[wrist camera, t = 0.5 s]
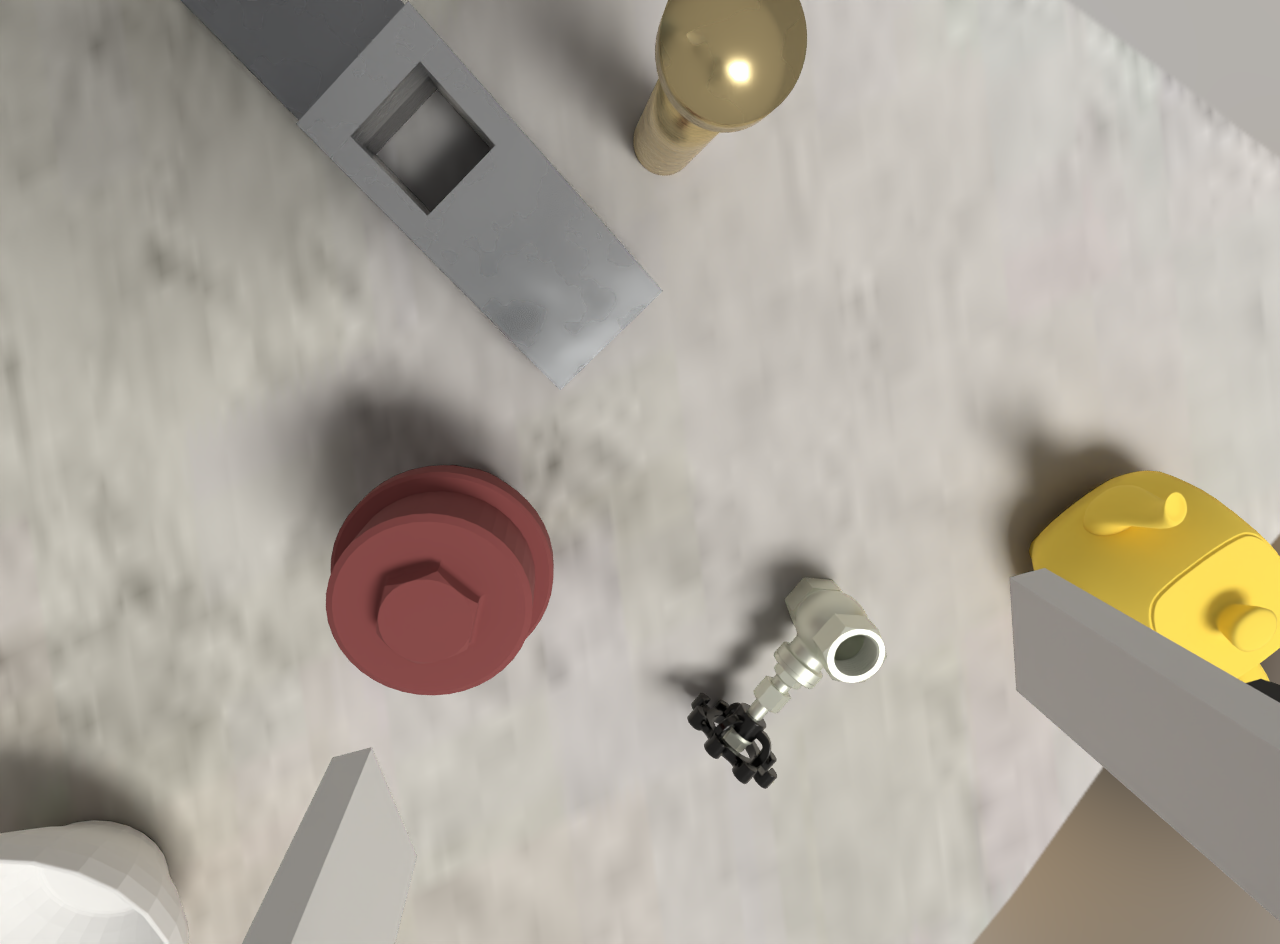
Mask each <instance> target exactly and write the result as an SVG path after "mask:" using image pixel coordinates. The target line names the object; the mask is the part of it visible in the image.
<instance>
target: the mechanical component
mask: <svg viewBox="0 0 1280 944" xmlns="http://www.w3.org/2000/svg"><path fill="white" fill-rule="evenodd" d="M553 566H554V564H553V551H552V547H551V542H550V538H549V535H548V533H547V530H546V528H545V525H544V523H543V522H542V520H541V518H540V517H539V515H538V513H537V512H536V510H535V509H534V508H533V507H532V506H531V504H530V503H529V502H528V501H527V500H526V499H525V498H524V497H523V496H522V495H521V494H520V493H519V492H518V491H517V490H515V489H514V488H512V487H511V486H509V485H508V484H507V483H505V482H503V481H502V480H501V479H499V478H498V477H496V476H494V475H492V474H490V473H488V472H485V471H482V470H478V469H473V468H466V467H461V466H457V465H439V466H427V467H422V468H417V469H412V470H409V471H406V472H403V473H401V474H398V475H396V476H394V477H392V478H390V479H388V480H386V481H384V482H383V483H381V484H380V485H379V486H377V487H376V488H375V489H373V490H372V491H371V492H370V493H369V494H368V495H367V496H366V497H365V498H364V499H363V500H362V501H361V502H360V503H359V504H358V505H357V506H356V507H355V508H354V509H353V511H352V512H351V513H350V514H349V515H348V517H347V518H346V520H345V522H344V523H343V525H342V527H341V528H340V530H339V533H338V535H337V538H336V540H335V543H334V547H333V552H332V556H331V576H330V578H329V582H328V587H327V592H326V611H327V617H328V623H329V626H330V629H331V631H332V634H333V637H334V639H335V640H336V642H337V644H338V646H339V647H340V649H341V650H342V652H343V653H344V654H345V656H346V657H347V658H348V659H349V661H350V662H351V663H353V664H354V665H355V666H356V667H357V668H358V669H359V670H360V671H361V672H363V673H364V674H366V675H367V676H369V677H370V678H372V679H373V680H375V681H377V682H379V683H381V684H383V685H385V686H387V687H390V688H393V689H396V690H399V691H402V692H407V693H413V694H418V695H443V694H451V693H456V692H460V691H465V690H467V689H470V688H473V687H475V686H478V685H480V684H482V683H484V682H486V681H487V680H489V679H491V678H492V677H494V676H495V675H497V674H498V673H499V672H501V671H502V670H503V669H504V668H505V667H506V666H507V665H508V664H509V663H510V662H511V661H512V660H513V659H514V657H515V656H516V655H517V653H518V652H519V650H520V649H521V647H522V645H523V643H524V641H525V639H526V638H527V637H528V636H529V635H530V634H531V633H532V632H533V630H534V629H535V627H536V626H537V624H538V623H539V622H540V620H541V618H542V616H543V614H544V612H545V610H546V608H547V605H548V602H549V599H550V596H551V591H552V584H553Z"/></svg>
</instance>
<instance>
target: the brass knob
mask: <svg viewBox="0 0 1280 944" xmlns="http://www.w3.org/2000/svg"><path fill="white" fill-rule="evenodd" d="M806 48H807V29H806V21H805V16H804V12H803V9H802V6H801V3H800V1H799V0H668V2H667V5H666V8H665V10H664V13H663V16H662V18H661V21H660V24H659V27H658V32H657V36H656V45H655V60H656V67H657V72H658V76H659V79H658V81H657V83H656V85H655V87H654V89H653V92H652V94H651V96H650V98H649V100H648V102H647V105H646V107H645V109H644V111H643V113H642V115H641V117H640V120H639V122H638V124H637V126H636V129H635V132H634V139H633V143H634V150H635V153H636V156H637V158H638V160H639V161H640V163H641V164H642V165H643V166H644V167H645V168H646V169H647V170H648V171H650V172H652V173H654V174H657V175H672V174H675V173H677V172H679V171H680V170H682V169H683V168H684V167H685V166H686V165H687V164H688V163H689V162H690V161H691V160H692V159H693V158H694V157H695V156H696V155H697V154H698V153H699V152H700V151H701V150H702V149H703V148H704V147H705V146H706V145H707V144H708V143H709V142H710V141H711V140H712V139H713V138H714V137H715V136H716V135H717V134H718V133H719V132H720V133H722V132H735V131H740V130H743V129H746V128H749V127H751V126H753V125H755V124H756V123H758V122H759V121H761V120H762V119H764V118H765V117H766V116H767V115H768V114H769V113H771V112H772V111H773V110H774V109H775V108H776V107H778V106H779V105H780V104H781V103H782V102H783V101H784V100H785V99H786V97H787V96H788V95H789V93H790V92H791V91H792V89H793V88H794V86H795V84H796V82H797V80H798V78H799V76H800V73H801V70H802V68H803V64H804V60H805V55H806Z"/></svg>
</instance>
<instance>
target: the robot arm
mask: <svg viewBox="0 0 1280 944" xmlns="http://www.w3.org/2000/svg"><path fill="white" fill-rule="evenodd" d="M1010 594H1011V611H1012V627H1013V644H1014V661H1015V677H1016V690H1017V691H1018V692H1019V693H1020V694H1021V695H1022V696H1023V697H1025V698H1026V699H1027V700H1028V701H1029V702H1030V703H1031V704H1032V705H1034V706H1035V707H1036V708H1037V709H1038V710H1039V711H1040V712H1042V713H1043V714H1044V715H1045V716H1046V717H1047V718H1048V719H1050V720H1051V721H1052V722H1053V723H1054V724H1055V725H1056V726H1058V727H1059V728H1060V729H1061V730H1062V731H1063V732H1064V733H1066V734H1067V735H1068V736H1069V737H1070V738H1071V739H1072V740H1073V741H1075V742H1076V743H1077V744H1078V745H1079V746H1080V747H1081V748H1083V749H1084V750H1085V751H1086V752H1087V753H1088V754H1089V755H1091V756H1092V757H1093V758H1094V759H1095V760H1096V761H1097V762H1099V763H1100V764H1101V765H1102V766H1103V767H1104V768H1105V769H1107V770H1108V771H1109V772H1110V773H1111V774H1112V775H1113V776H1114V777H1116V778H1117V779H1118V780H1119V781H1120V782H1121V783H1123V784H1124V785H1125V786H1126V787H1127V788H1128V789H1129V790H1130V791H1132V792H1133V793H1134V794H1135V795H1136V796H1137V797H1139V798H1140V799H1141V800H1142V801H1143V802H1144V803H1145V804H1147V805H1148V806H1149V807H1150V808H1151V809H1152V810H1153V811H1154V812H1156V813H1157V814H1158V815H1159V816H1160V817H1161V818H1162V819H1164V820H1165V821H1166V822H1167V823H1168V824H1169V825H1170V826H1171V827H1173V828H1174V829H1175V830H1176V831H1177V832H1178V833H1179V834H1181V835H1182V836H1183V837H1184V838H1185V839H1186V840H1187V841H1189V842H1190V843H1191V844H1192V845H1193V846H1194V847H1195V848H1197V849H1198V850H1199V851H1200V852H1201V853H1202V854H1204V856H1206V857H1207V858H1208V859H1209V860H1210V861H1211V862H1212V863H1214V864H1215V865H1216V866H1217V867H1218V868H1219V869H1220V870H1222V871H1223V872H1224V873H1225V874H1226V875H1227V876H1229V877H1230V878H1231V879H1232V880H1233V881H1234V882H1235V883H1236V884H1237V885H1239V886H1240V887H1241V888H1242V889H1243V890H1244V891H1245V892H1247V893H1248V894H1249V895H1250V896H1251V897H1252V898H1253V899H1255V900H1256V901H1257V902H1258V903H1259V904H1260V905H1261V906H1263V907H1264V908H1265V909H1266V910H1267V911H1268V912H1269V913H1271V914H1272V915H1273V916H1274V917H1275V918H1276V919H1278V921H1280V685H1278V684H1275V683H1272V682H1269V681H1267V680H1264V679H1258V680H1255V681H1251V682H1247V683H1244V682H1243V681H1241V680H1239V679H1237V678H1236V677H1234V676H1232V675H1230V674H1229V673H1227V672H1225V671H1223V670H1222V669H1220V668H1218V667H1216V666H1215V665H1213V664H1211V663H1209V662H1208V661H1206V660H1204V659H1203V658H1201V657H1199V656H1197V655H1196V654H1194V653H1192V652H1190V651H1189V650H1187V649H1185V648H1183V647H1182V646H1180V645H1178V644H1176V643H1175V642H1173V641H1171V640H1169V639H1168V638H1166V637H1164V636H1162V635H1161V634H1159V633H1157V632H1155V631H1154V630H1152V629H1150V628H1149V627H1147V626H1145V625H1143V624H1142V623H1140V622H1138V621H1136V620H1135V619H1133V618H1131V617H1129V616H1128V615H1126V614H1124V613H1122V612H1121V611H1119V610H1117V609H1115V608H1114V607H1112V606H1110V605H1108V604H1107V603H1105V602H1103V601H1101V600H1100V599H1098V598H1096V597H1094V596H1093V595H1091V594H1089V593H1088V592H1086V591H1084V590H1082V589H1081V588H1079V587H1077V586H1075V585H1074V584H1072V583H1070V582H1068V581H1067V580H1065V579H1063V578H1061V577H1060V576H1058V575H1056V574H1054V573H1053V572H1051V571H1049V570H1047V569H1046V568H1043V569H1039V570H1035V571H1031V572H1028V573H1024V574H1020V575H1016V576H1013V577H1010ZM416 858H417V854H416V852H415V849H414V847H413V845H412V842H411V840H410V837H409V835H408V833H407V830H406V828H405V825H404V823H403V821H402V818H401V816H400V813H399V811H398V809H397V806H396V804H395V801H394V799H393V797H392V794H391V792H390V789H389V787H388V785H387V782H386V780H385V777H384V775H383V773H382V770H381V768H380V765H379V763H378V761H377V758H376V756H375V753H374V751H373V749H372V747H371V748H367V749H363V750H360V751H356V752H352V753H348V754H345V755H341V756H337V757H333V758H332V760H331V762H330V764H329V766H328V768H327V770H326V772H325V774H324V776H323V778H322V781H321V783H320V785H319V787H318V789H317V791H316V793H315V795H314V797H313V799H312V801H311V803H310V805H309V807H308V809H307V811H306V813H305V815H304V818H303V820H302V822H301V824H300V826H299V828H298V830H297V832H296V834H295V836H294V838H293V840H292V842H291V844H290V846H289V848H288V850H287V852H286V854H285V857H284V859H283V861H282V863H281V865H280V867H279V869H278V871H277V873H276V875H275V877H274V879H273V881H272V883H271V885H270V887H269V889H268V891H267V894H266V896H265V898H264V900H263V902H262V904H261V906H260V908H259V910H258V912H257V914H256V916H255V918H254V920H253V922H252V924H251V926H250V928H249V930H248V933H247V935H246V937H245V939H244V941H243V943H242V944H395V941H396V937H397V933H398V929H399V925H400V921H401V917H402V913H403V910H404V906H405V902H406V898H407V894H408V890H409V886H410V882H411V878H412V874H413V870H414V866H415V862H416Z"/></svg>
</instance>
